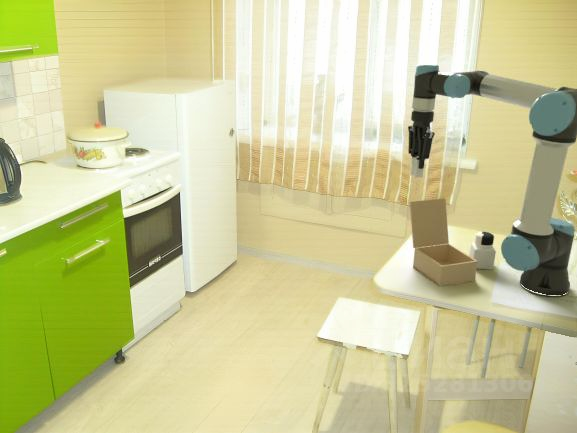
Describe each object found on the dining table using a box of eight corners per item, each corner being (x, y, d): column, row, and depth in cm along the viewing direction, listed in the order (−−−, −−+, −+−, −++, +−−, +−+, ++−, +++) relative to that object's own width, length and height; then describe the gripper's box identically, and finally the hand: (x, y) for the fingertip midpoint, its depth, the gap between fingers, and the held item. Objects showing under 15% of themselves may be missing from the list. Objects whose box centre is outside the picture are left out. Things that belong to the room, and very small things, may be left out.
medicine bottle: (489, 261, 220) (493, 230, 216) (493, 270, 213) (498, 237, 209) (468, 260, 220) (472, 229, 216) (472, 268, 213) (476, 236, 209)
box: (475, 280, 204) (477, 261, 202) (439, 286, 199) (441, 266, 197) (446, 262, 218) (449, 243, 216) (412, 266, 213) (414, 248, 211)
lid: (445, 198, 215) (444, 198, 216) (411, 201, 211) (409, 201, 211) (448, 243, 216) (447, 243, 217) (414, 248, 211) (413, 247, 212)
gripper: (445, 113, 205) (437, 181, 213) (420, 105, 219) (414, 169, 227) (426, 114, 203) (419, 182, 211) (402, 106, 216) (396, 171, 224)
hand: (416, 175), depth 219 cm, fingers open, 2 cm apart
